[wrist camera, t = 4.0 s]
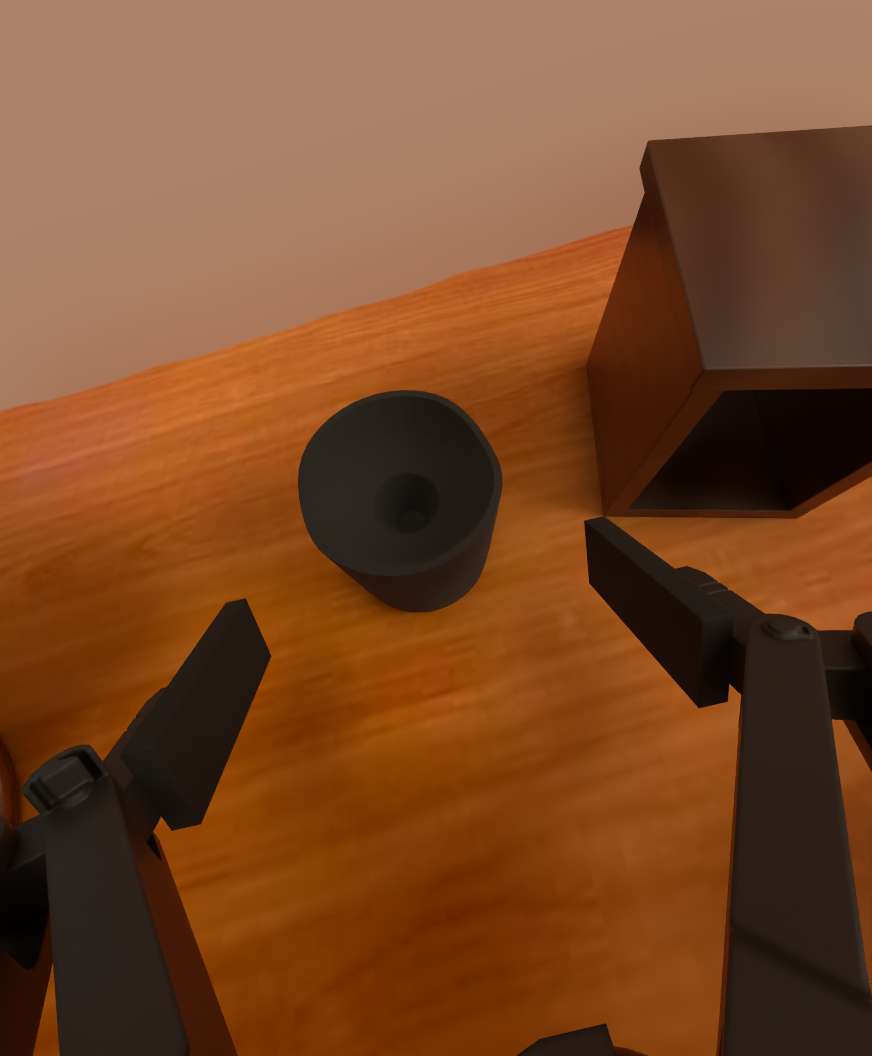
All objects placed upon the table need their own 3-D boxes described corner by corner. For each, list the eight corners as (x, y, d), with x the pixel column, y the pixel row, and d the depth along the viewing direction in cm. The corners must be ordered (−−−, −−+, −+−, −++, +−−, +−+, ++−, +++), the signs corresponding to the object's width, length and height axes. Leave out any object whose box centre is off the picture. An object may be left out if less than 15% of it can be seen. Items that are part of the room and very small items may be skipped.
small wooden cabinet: (596, 523, 28) (703, 369, 15) (579, 358, 33) (647, 139, 20) (808, 525, 27) (1124, 360, 14) (755, 354, 32) (948, 119, 19)
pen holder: (508, 505, 29) (526, 413, 20) (468, 640, 26) (466, 605, 16) (382, 472, 31) (343, 373, 21) (329, 594, 27) (257, 540, 18)
